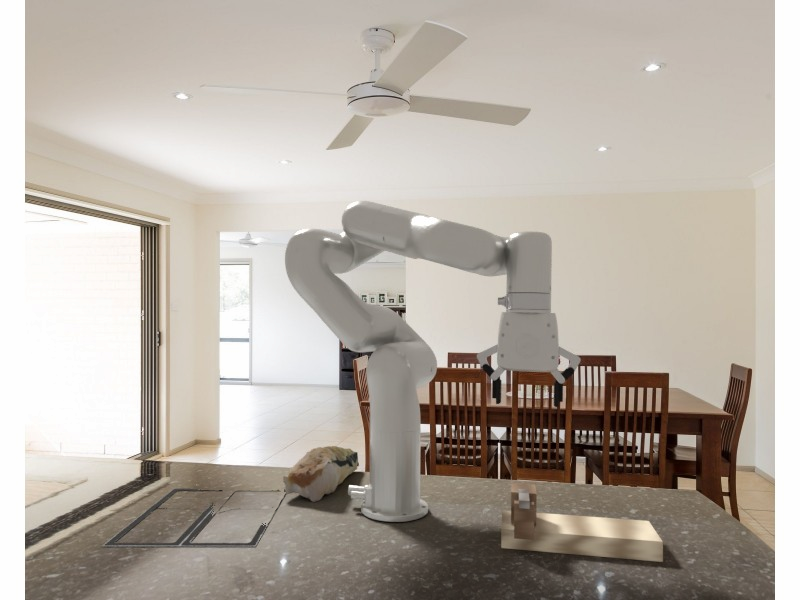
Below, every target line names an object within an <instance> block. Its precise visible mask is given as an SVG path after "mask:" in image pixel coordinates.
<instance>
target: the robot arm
mask: <svg viewBox="0 0 800 600" xmlns="http://www.w3.org/2000/svg"><path fill="white" fill-rule="evenodd" d="M341 228H342V231H343V232H341V233H340V234H339V233H336V232H332V231H328V230H324V229H321V228H305V229H302V230H298V231H297V232H295V233H294V234H293V235H292V236H291V237H290V238H289V240H288V242H287V245H286V247H285V253H284V265H285V272H286V275H287V278H288V280H289V282H290V284H291V286H292V287H293V289H294V290H295V291H296V293H297V294H298V296H300V297H301V298H302V299H303V301H304V303H306V304H307V305H308V306H309V307H310V308H311V309H312V310H313V311H314V313H316V315H317V316H318V317H319V318H320V319H321V321H322V322H323V323H324V324H325V325H326V326H327V327H328V328H329V330H330V331H331V332H332V333H333V334H334V335H335V337H336V338H337V339H338V340H339V341H340V342H341V343H342V344H343V346H345V348H347V349H348V350H350V351H351V352H355V353H371V352H372V354H371V355H370V356H369V358H368V361H367V364H366V369H365V370H366V371H365V372H366V383H367V389H368V395H369V396H368V397H369V410H370V411H369V413H370V414H369V415H370V419H369V426H370V427H369V431H370V433H369V484H365V485H364V486H359V485H355V484H354V485H353V484H349V485H348V487H347V488H348V489H347V494H348V496H350V499H356V500H361V499H362V501H363V502H361V505H360V511H361V514H363V515H364V516H365V517H366V518H369V519H372V520H375V521H380V522H387V523H388V522H389V523H402V522H411V521H415V520H419V519H421V518H423V517H424V516H426V515H427V514H428V512H429V504H428V503H427V502H426V501H425V500H424V499H421V435H422V433H421V432H422V431H421V407H420V401H419V395H418V390H417V389H419V388H422V387H424V386H426V385H428V384H429V383H430V382H432V380H433V379H434V378H435V376H436V374H437V369H438V361H437V357H436V355H435V353H434V351H433V349H432V348H431V347H430V345H429V344H428V343H427V342H426V341H425V340H424V339H423V338H422V337H421V336H420V335H419V333H417V332H416V331H415V330H414V328H413V327H411V326H410V325H409V324H408V322H406V320H404V318H403V317H402V316H400V314H398V313H397V312H396V311H394V310H392V309H391V308H390V307H387V306H384V305H379V304H376V305H375V304H369V303H367V302H365V300H363V299H362V298H361V297H360V296H359V295H358V294H357V293H355V291H354V290H353V289H352V288H351V287H350V286H349V285H348V284H347V283H346V282H345V281H344V280H342V279H341V278H340V277H339V276H338V274H339V275H340V274H345V273H349V272H351V271H353V270H355V269H357V268H359V267H360V266H363V264H366V263H367V262H369V261H370V260H372V259H374V258H375V257H377V256H378V255H380V254H382V253H384V252H385V251H386V252H387V253H391V254H395V255H399V256H403V257H406V258H409V259H414V260H417V259H419V260H425V261H429V262H433V263H437V264H438V265H439V264H440V265H444V266H447V267H450V268H453V269H458V270H462V271H463V272H468V273H470V274H471V273H472V274H476V275H478V276H479V275H480V276H483V277H490V278H491V277H492V278H493V277H500V276H506V294H505V295H504V296H501V297H500V296H499V297H497V305H498V306H502V307H503V306H504V308H505V311H501V315H500V319H499V325H498V333H497V343H496V345H493V346H491V347H489V348H487V349H485V350H483V351H480V352H478V353H477V354H476V359H477V360H478V363H479V365H480V367H481V368H482V370H483V372H484V373H486V375H488V376H487V377H489V378H490V379H491V381H492V383H491V386H492V388H491V389H492V390H491V392H492V393H491V395H492V397H491V398H492V399H495V405H500V404H501V403H502V379H501V376H502V374H503V373H504V372H505V371H512V372H535V373H550V374H551V375H552V376H553V378H555V379H554V382H553V407H555V408H559V403H563V402H564V394H563V393H564V384H565V382H566V381H567V380H568V379H569V378H571V376H572V375H574V373H575V372H576V369H577V368H578V366H579V364H580V363H581V357H580V356H578V355H576V354H574V353H572V352H570V351H569V350H567V349H565V348H564V347H562V346H559V345H560V344H559V328H558V320H557V315H556V313H555V312H552V310H551V309H552V267H553V266H552V265H553V264H552V263H553V259H552V258H553V257H552V256H553V252H552V250H553V242H552V238H551V236H550V235H549V234H548V233H546V232H542V231H520V232H519V231H517V232H514V233H512V234H510V235H509V236H500V235H498V234H494V233H492V232H491V231H489V230H486V229H483V228H481V227H476V226H471V225H467V224H464V223H463V224H462V223H460V222H454V221H451V220H446V219H442V218H438V217H437V218H436V217H432V216H429V215H427V214H423V213H419V212H415V211H410V210H407V209H402V208H400V207H399V208H398V207H394V206H391V205H390V206H389V205H386V204H382V203H377V202H374V201H368V200H360V201H359V200H358V201H354V202H352V203H350V204H349V205H348V206H347V207H345V209H344V211H343V213H342V216H341ZM494 354H496V362H497V366H498V367H496V369H494V368H493V367H492V366H491V365H490V364H489V361H488V360H487V359H488V357H490V356H492V355H494ZM559 356H560V357H563V358H564V359H567V360H568V361H569V364H568V366H567V367H566V368H565V369H564V370H563V371H562V372H561V371H560V370H559V369H558V367H559V362H560V357H559Z"/></svg>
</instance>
